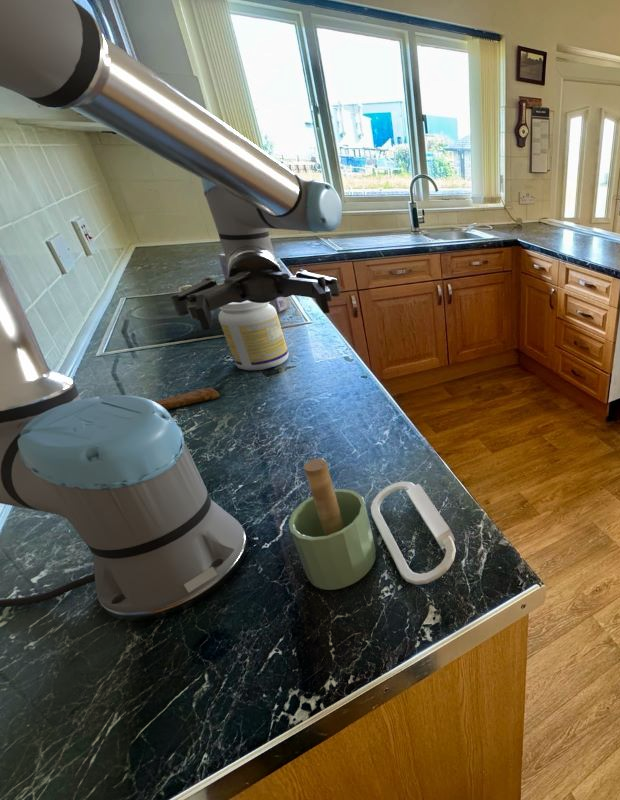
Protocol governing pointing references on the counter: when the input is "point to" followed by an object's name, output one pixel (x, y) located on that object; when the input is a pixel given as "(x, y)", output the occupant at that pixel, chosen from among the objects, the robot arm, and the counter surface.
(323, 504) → the stick
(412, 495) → the white oval ring
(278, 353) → the supplement tub
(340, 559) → the cup
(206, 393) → the brown rounded bar
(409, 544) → the counter surface
